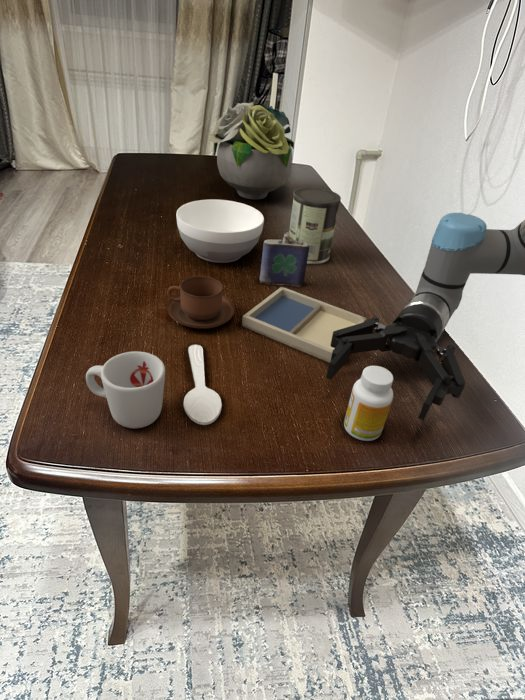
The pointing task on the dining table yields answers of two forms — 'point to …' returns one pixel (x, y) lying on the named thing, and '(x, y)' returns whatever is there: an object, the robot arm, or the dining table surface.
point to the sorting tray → (299, 321)
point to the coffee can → (314, 221)
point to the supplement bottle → (369, 404)
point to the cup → (131, 387)
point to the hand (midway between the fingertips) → (375, 390)
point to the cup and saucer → (200, 303)
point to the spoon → (201, 392)
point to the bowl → (219, 229)
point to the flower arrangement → (253, 149)
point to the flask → (284, 261)
